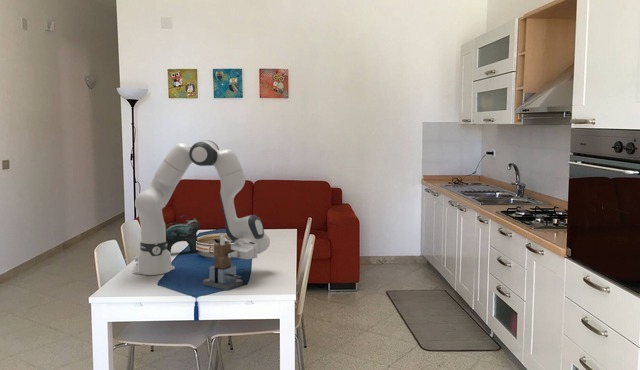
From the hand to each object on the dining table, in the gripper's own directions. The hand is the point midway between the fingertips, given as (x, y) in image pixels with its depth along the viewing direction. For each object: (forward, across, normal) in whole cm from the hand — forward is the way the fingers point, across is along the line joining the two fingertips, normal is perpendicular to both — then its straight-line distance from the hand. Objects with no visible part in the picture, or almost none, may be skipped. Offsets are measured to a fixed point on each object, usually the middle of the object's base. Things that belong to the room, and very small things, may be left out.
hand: (221, 254), depth 241 cm
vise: (-1, +2, +13) cm, 14 cm away
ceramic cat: (-30, -56, +14) cm, 65 cm away
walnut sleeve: (-1, 0, +6) cm, 6 cm away
